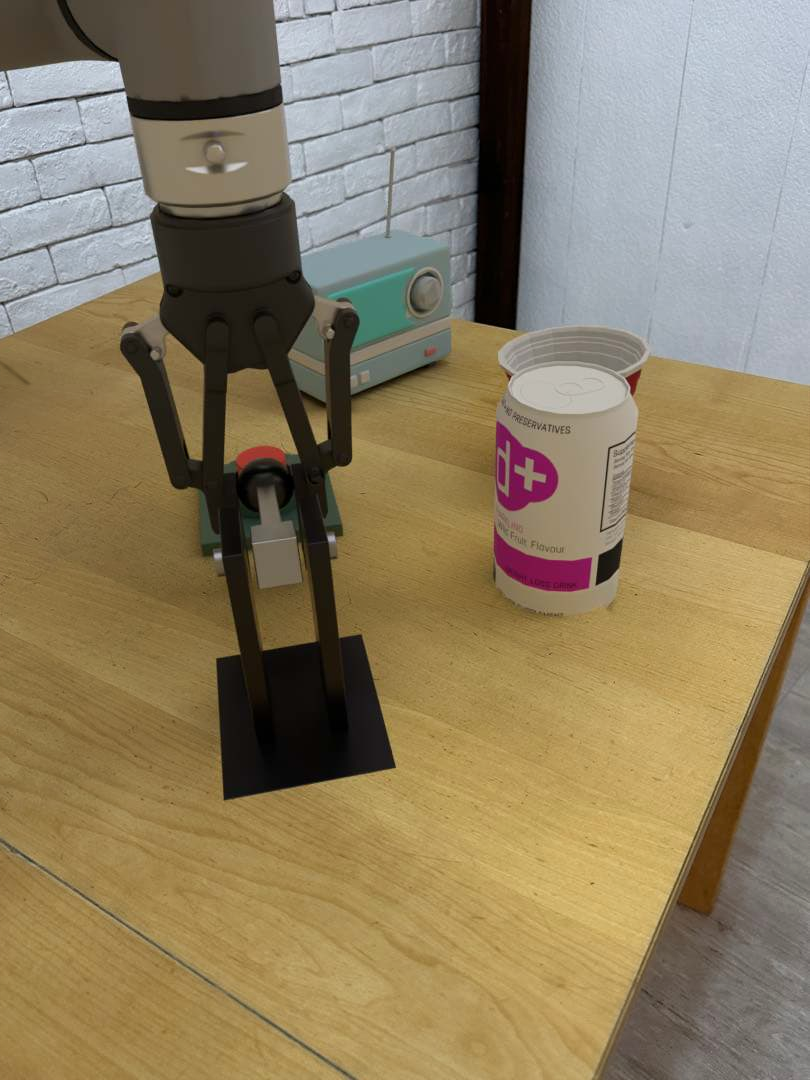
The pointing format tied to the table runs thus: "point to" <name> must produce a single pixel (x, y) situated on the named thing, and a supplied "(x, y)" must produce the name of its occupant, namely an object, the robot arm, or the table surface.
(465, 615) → the table surface
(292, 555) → the lever
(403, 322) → the radio
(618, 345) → the plastic cup
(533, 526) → the supplement can
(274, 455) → the button
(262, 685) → the bracket
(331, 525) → the button box
